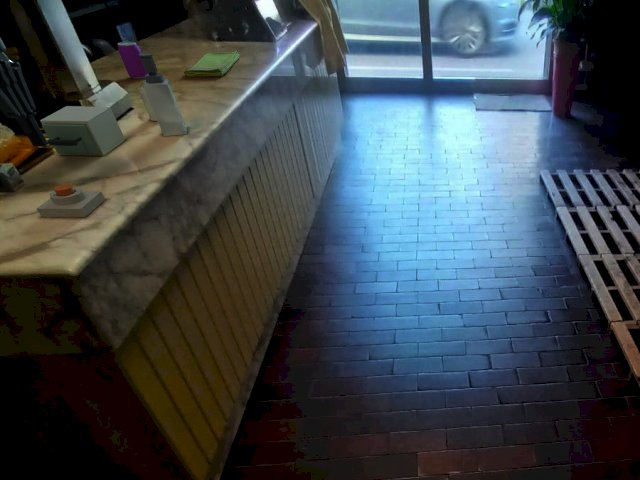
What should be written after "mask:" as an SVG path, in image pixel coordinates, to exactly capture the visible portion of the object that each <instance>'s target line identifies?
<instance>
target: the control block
mask: <svg viewBox="0 0 640 480" xmlns="http://www.w3.org/2000/svg"><path fill="white" fill-rule="evenodd" d="M72 188H73V190H74V191H75V193H74V194H71V195H68V196H57V194H56V192H55V191H54V190H53V191H52V192H51V193H49V199H47V200H46V201H45V202H43V203H42V204H40V205H39V206H38V207H36V211H37V213H38V214H39V216H40V217H41V218H86V217H88V216H89V215H90V214H91V213H92V212H93V211H94V210H96V208H98V207H99V206H100V205H102V203H104V202H105V201H106V198H105V196H104V194H103V192H102V191H100V190H99V191H98V190H97V191H95V190H94V191H93V190H91V191H90V190H89V191H88V190H87V191H86V190H85V191H83V189H82V188H80V187H77V186H72Z"/></svg>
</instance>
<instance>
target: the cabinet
mask: <svg viewBox="0 0 640 480" xmlns="http://www.w3.org/2000/svg"><path fill="white" fill-rule="evenodd" d="M39 122H40V123H41V126H42V125H43V124H86V125H87V127H88V129H89V131H90V133H91V135H92V137H93V139H94V141H95V143H96V145H97V147H98V149H99V151H100V153H99V154H58V155H59V156H89V157H90V156H95V157H96V156H97V157H98V156H100V157H103V156H106V155H107V154H108V153H110V152H112V151H113V150H114V149H115V148H117V147H118V146H119V145H122V143H124V141H126V137H125V136H124V134H123V131H122V129H121V126H120V125H119V122H118V120H117V118H116V116H115V114H114V112H113V110H112V107H111V106H82V105H78V106H77V105H66V106H64V107H63V108H61V109H59V110H57V111H55V112H52V113H51V114H50V115H47V116H46V117H43V118H42V119H39Z"/></svg>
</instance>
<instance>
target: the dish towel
mask: <svg viewBox="0 0 640 480" xmlns="http://www.w3.org/2000/svg"><path fill="white" fill-rule="evenodd" d="M239 58H240V54H239V51H238V50H234V51H229V52H209V53H205V54H204V55H203V56H202V57H201V58H200V59H199V60H198V61H197V62H196V63H195V64H194V65H193V66H191V67H190V68H188V69H187V70H184V71H183V74H184V76H185V77H188V78H189V77H190V78H198V77H200V78H201V77H202V78H204V77H205V78H206V77H210V78H213V77H223V76H224V75H225V74H226V73H228V71H229V70H230V69H231V68H232V67H233V65H234V64H236V62H237V61H238V59H239Z"/></svg>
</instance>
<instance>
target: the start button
mask: <svg viewBox="0 0 640 480" xmlns="http://www.w3.org/2000/svg"><path fill="white" fill-rule="evenodd" d="M72 187H73V186H72V184H68V183H67V184H66V183H65V184H60V185H56V186H55V187H53V191H55V192H56V194H57V196H68V195H71V194H74V193H75V191H74V190H73V188H72Z"/></svg>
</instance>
